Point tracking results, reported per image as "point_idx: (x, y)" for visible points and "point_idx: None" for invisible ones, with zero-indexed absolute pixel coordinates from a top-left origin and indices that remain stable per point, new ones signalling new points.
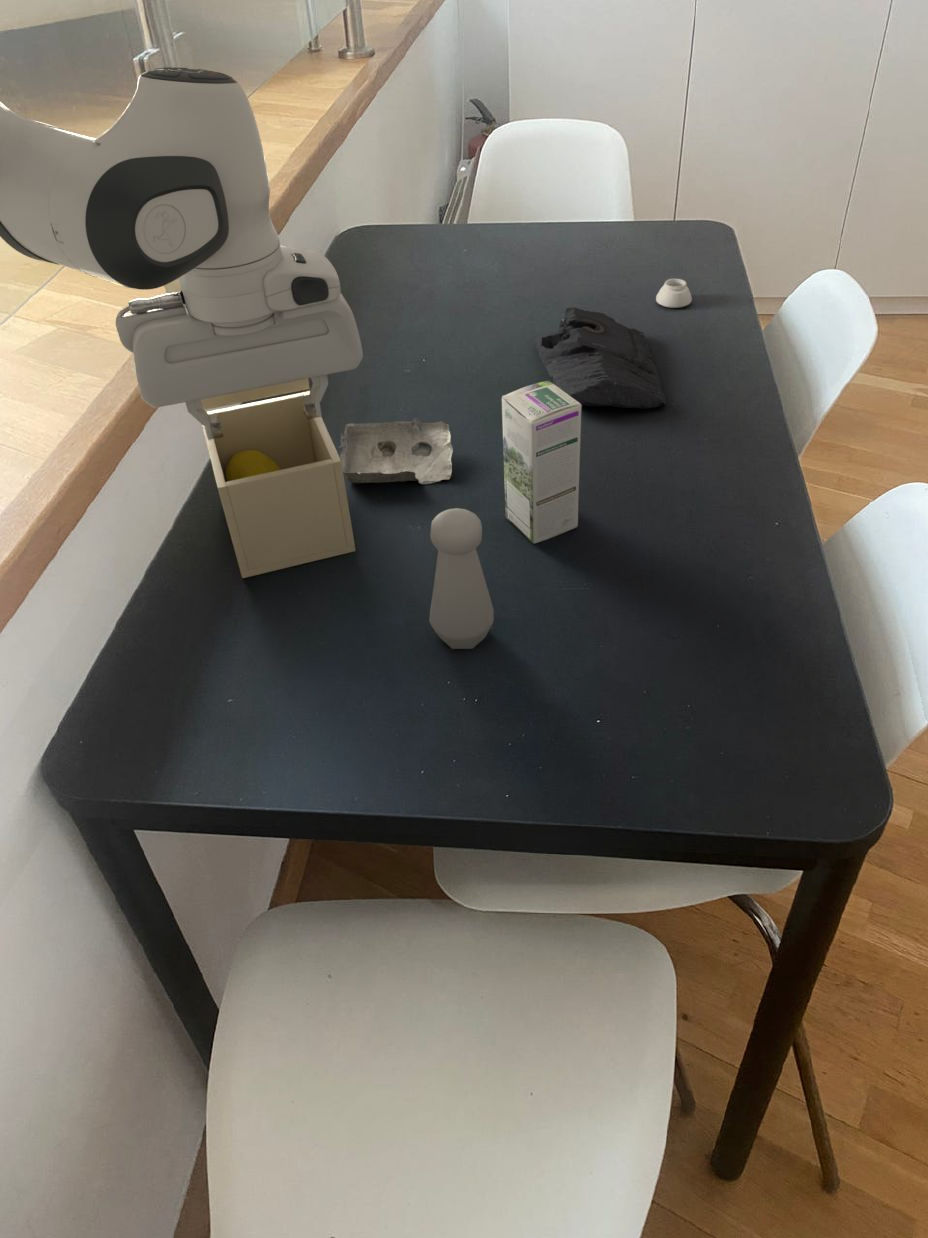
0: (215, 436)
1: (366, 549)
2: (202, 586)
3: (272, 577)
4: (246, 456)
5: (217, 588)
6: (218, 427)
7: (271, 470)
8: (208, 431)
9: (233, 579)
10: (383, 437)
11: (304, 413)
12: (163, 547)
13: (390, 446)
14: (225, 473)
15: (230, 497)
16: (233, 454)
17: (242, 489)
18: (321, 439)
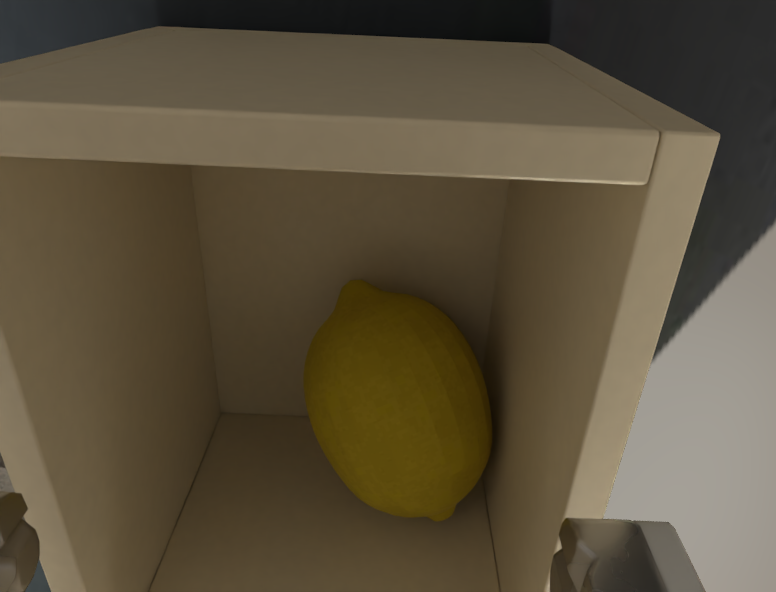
0: (623, 527)
1: (118, 22)
2: (679, 62)
3: (456, 6)
4: (413, 479)
5: (640, 28)
6: (609, 580)
7: (341, 397)
8: (680, 569)
9: (577, 55)
10: (8, 481)
11: (34, 545)
12: (704, 301)
13: None
14: None
15: (626, 111)
16: (446, 518)
17: (553, 116)
18: (45, 393)
